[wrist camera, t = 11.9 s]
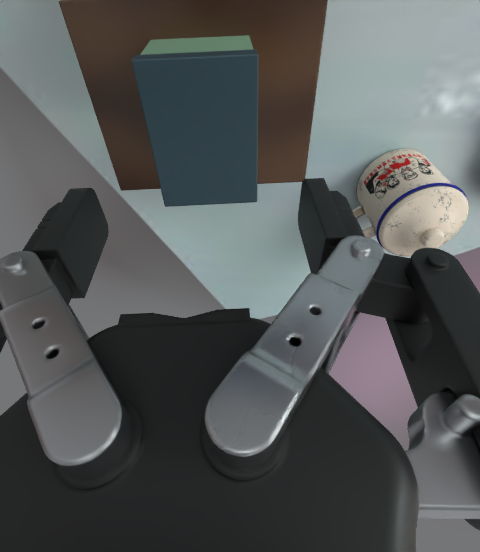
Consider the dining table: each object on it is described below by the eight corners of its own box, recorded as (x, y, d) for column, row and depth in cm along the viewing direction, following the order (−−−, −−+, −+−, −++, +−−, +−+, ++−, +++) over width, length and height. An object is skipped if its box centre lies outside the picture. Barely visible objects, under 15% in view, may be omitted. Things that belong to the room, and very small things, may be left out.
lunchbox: (148, 37, 18) (130, 59, 14) (251, 32, 18) (258, 54, 14) (173, 168, 23) (164, 207, 20) (251, 164, 23) (257, 202, 20)
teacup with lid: (424, 129, 36) (484, 184, 28) (434, 191, 41) (486, 251, 33) (321, 181, 40) (348, 242, 32) (344, 231, 45) (371, 293, 37)
